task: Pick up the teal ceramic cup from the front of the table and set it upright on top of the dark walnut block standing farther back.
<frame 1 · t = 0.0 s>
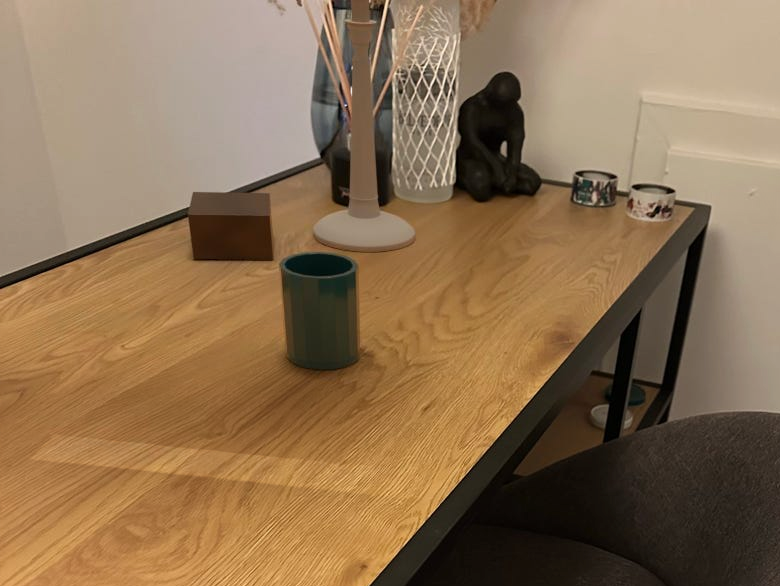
cup: (323, 354, 90), on the table
candlestick: (364, 237, 119), on the table
block: (234, 247, 112), on the table
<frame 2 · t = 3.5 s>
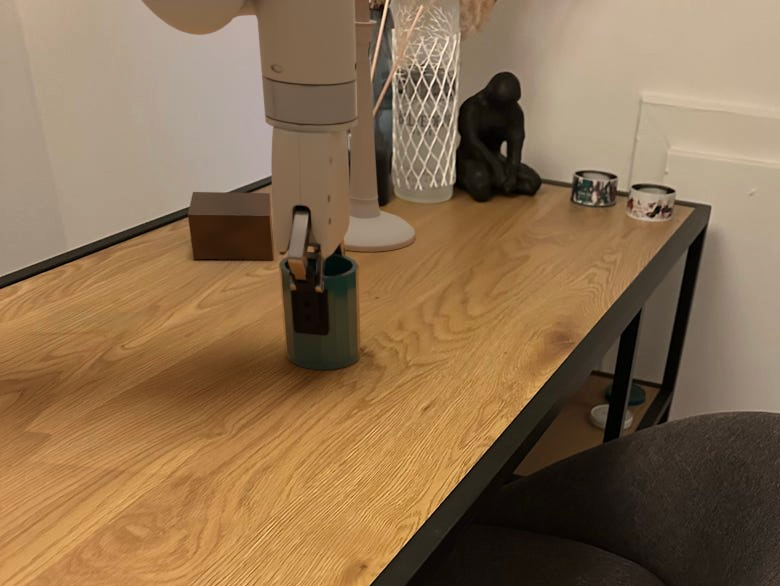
hand: (321, 315, 88), 4 cm above the table, tool pointing down, fingers closed on cup, 7 cm apart
cup: (323, 354, 90), on the table, touching gripper
everything else where it was.
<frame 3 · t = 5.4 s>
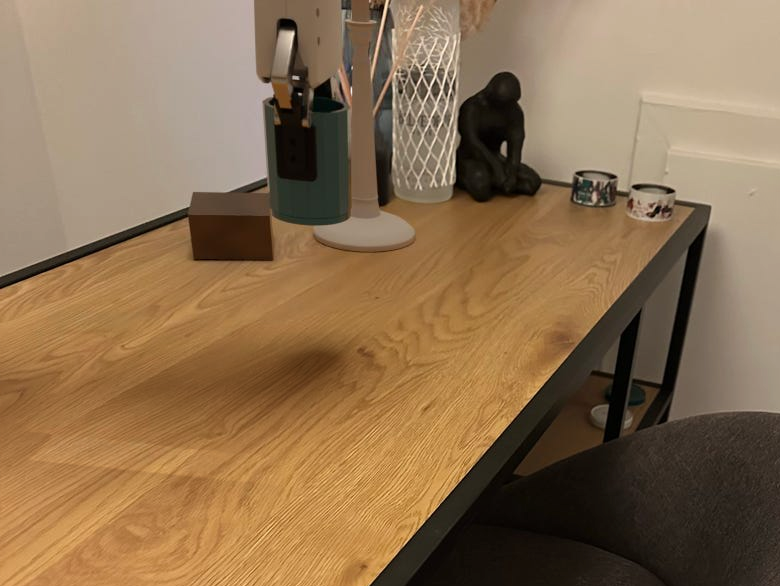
hand: (308, 166, 79), 17 cm above the table, tool pointing down, fingers closed on cup, 7 cm apart
cup: (310, 213, 82), point 13 cm above the table, touching gripper
everything else where it was.
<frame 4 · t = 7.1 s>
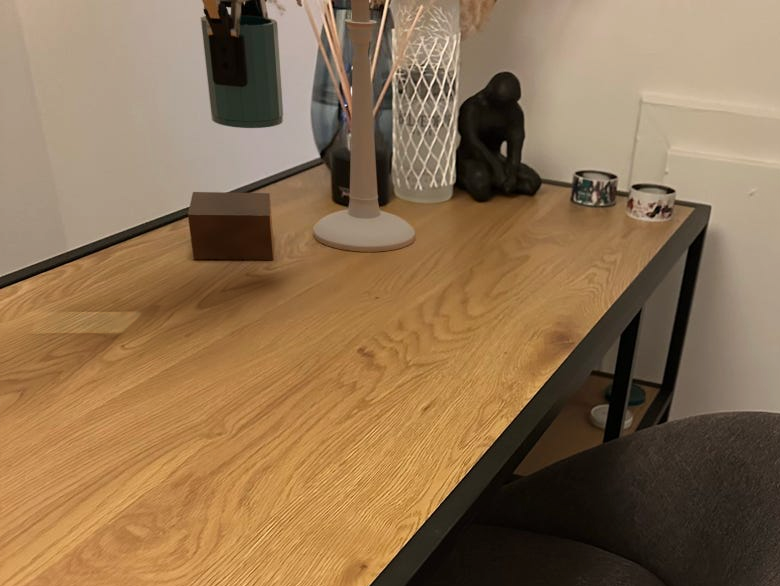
hand: (243, 76, 92), 20 cm above the table, tool pointing down, fingers closed on cup, 7 cm apart
cup: (247, 120, 94), point 16 cm above the table, touching gripper
everything else where it was.
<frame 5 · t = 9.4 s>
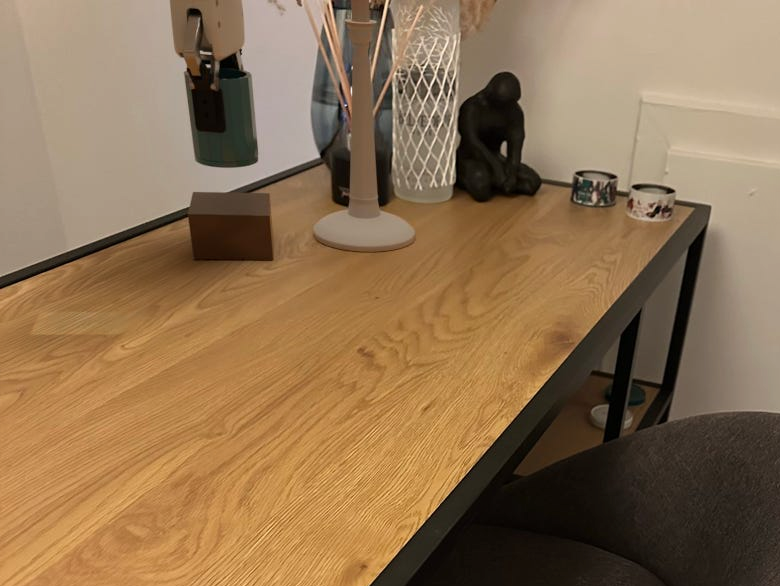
hand: (222, 122, 104), 13 cm above the table, tool pointing down, fingers closed on cup, 7 cm apart
cup: (226, 159, 106), point 10 cm above the table, touching gripper
everything else where it was.
when the fingers open (9 cm above the table, at t = 11.1 s): cup stays where it is, resting on block.
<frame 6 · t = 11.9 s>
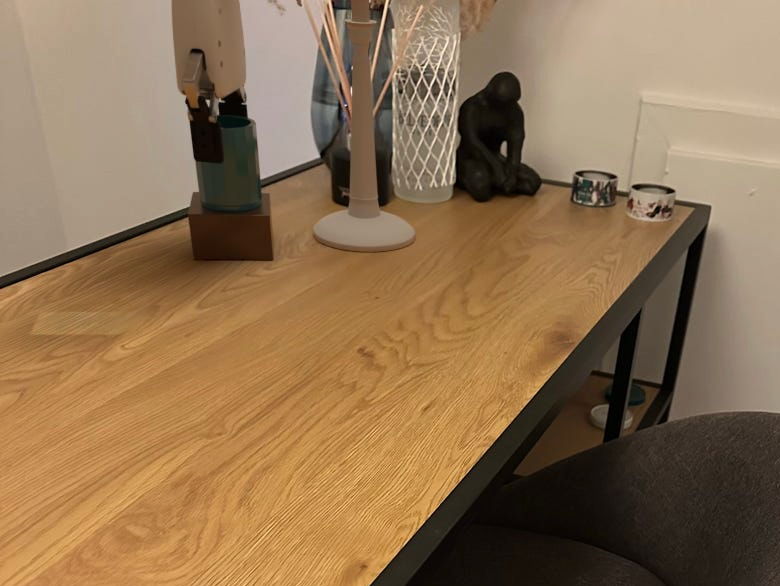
hand: (223, 151, 105), 10 cm above the table, tool pointing down, fingers open, 9 cm apart
cup: (231, 203, 109), point 5 cm above the table, touching block
block: (234, 247, 112), on the table, touching cup
everything else where it was.
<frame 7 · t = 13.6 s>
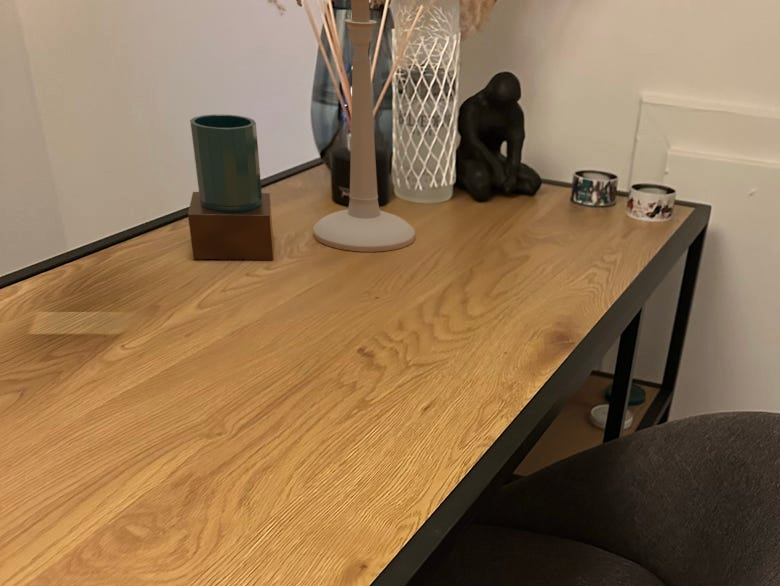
nothing on the table moved.
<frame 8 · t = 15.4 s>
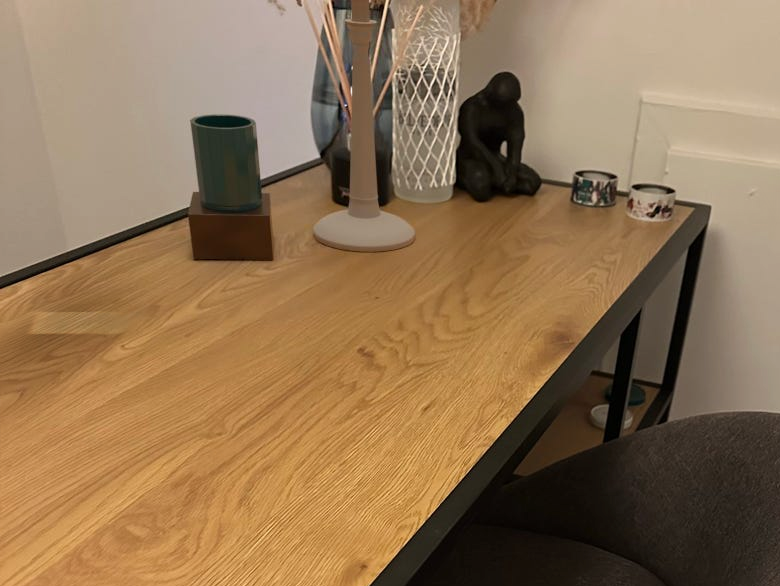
nothing on the table moved.
at the end: cup 0.1 cm off-centre on the block, point 5.0 cm above the block's base; cup tilted 0°; the gripper is holding nothing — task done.
